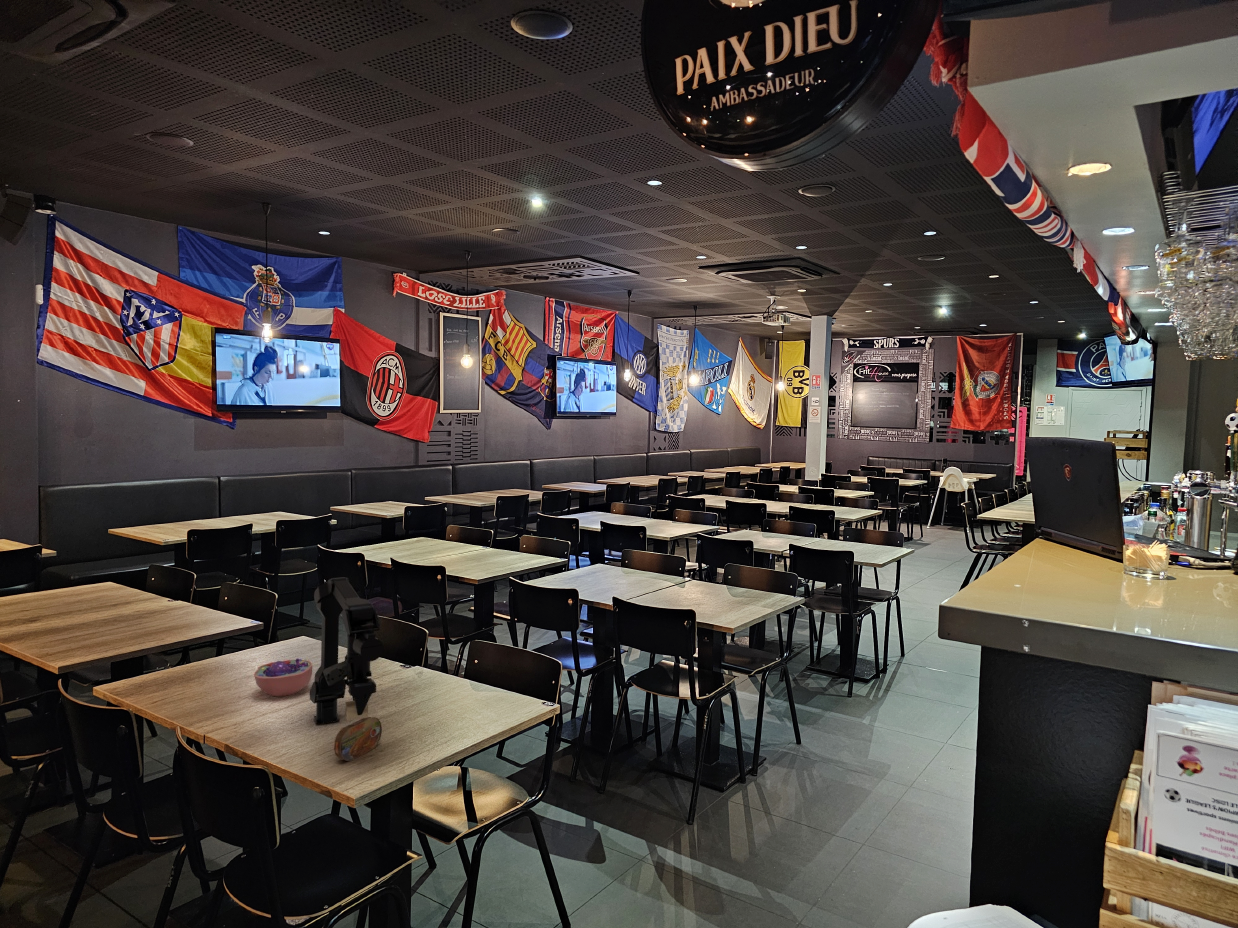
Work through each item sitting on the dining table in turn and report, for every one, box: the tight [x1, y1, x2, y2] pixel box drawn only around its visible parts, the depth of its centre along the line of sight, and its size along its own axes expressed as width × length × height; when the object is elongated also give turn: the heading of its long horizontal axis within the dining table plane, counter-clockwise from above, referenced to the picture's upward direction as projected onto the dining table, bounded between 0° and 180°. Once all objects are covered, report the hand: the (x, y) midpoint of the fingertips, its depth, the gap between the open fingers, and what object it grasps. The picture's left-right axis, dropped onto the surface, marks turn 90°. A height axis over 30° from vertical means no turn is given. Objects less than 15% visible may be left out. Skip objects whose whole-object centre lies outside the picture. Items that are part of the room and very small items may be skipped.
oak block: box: [344, 700, 369, 721], centre depth 192 cm, size 5×5×3 cm
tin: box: [333, 716, 383, 762], centre depth 192 cm, size 15×3×8 cm, turn 157°
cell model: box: [253, 657, 313, 698], centre depth 237 cm, size 17×20×11 cm
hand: (358, 711), depth 192 cm, fingers closed on oak block, 5 cm apart
